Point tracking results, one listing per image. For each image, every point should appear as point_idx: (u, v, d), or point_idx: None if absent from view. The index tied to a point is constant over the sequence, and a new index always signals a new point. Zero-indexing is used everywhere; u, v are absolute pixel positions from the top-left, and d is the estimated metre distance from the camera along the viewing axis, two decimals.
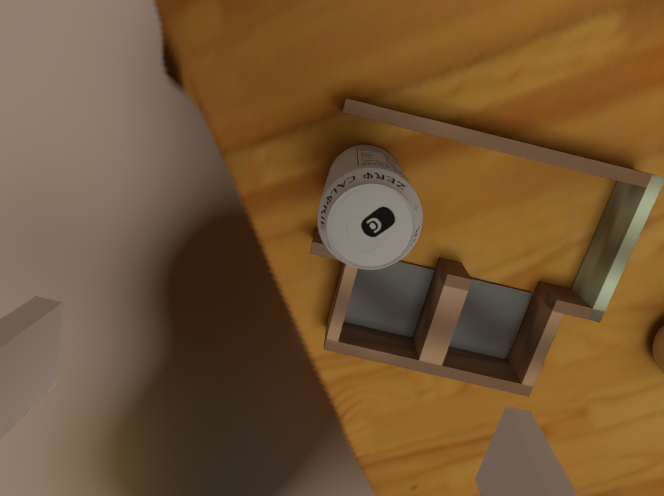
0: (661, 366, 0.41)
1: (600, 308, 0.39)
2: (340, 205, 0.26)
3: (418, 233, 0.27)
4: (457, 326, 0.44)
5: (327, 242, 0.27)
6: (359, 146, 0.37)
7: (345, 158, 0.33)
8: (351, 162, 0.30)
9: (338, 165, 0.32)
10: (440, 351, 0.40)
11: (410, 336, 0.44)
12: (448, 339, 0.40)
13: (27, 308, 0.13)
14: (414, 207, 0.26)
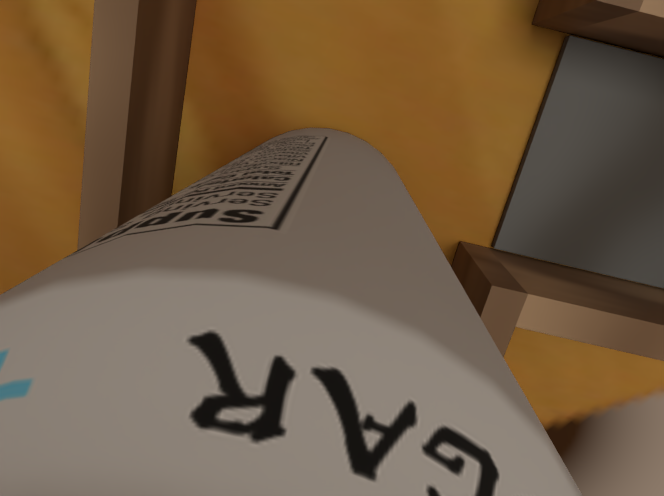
0: None
1: None
2: None
3: (285, 326, 0.03)
4: None
5: None
6: None
7: None
8: None
9: None
10: None
11: None
12: None
13: None
14: None
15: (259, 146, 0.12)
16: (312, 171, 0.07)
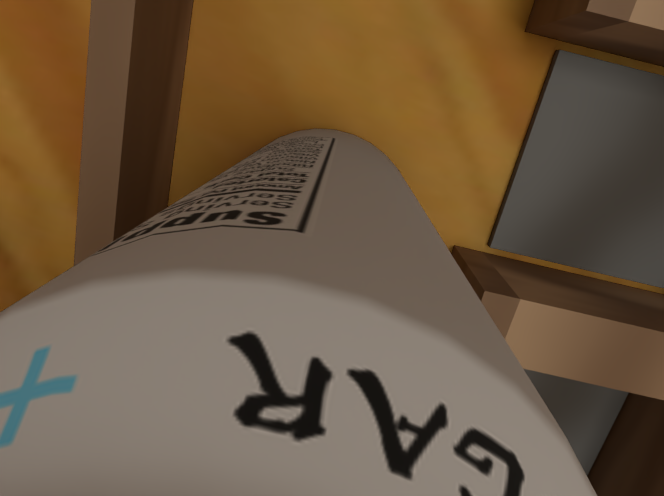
0: None
1: None
2: None
3: (320, 329, 0.03)
4: (635, 247, 0.16)
5: None
6: None
7: None
8: None
9: None
10: None
11: None
12: None
13: None
14: None
15: (267, 146, 0.12)
16: (326, 173, 0.07)
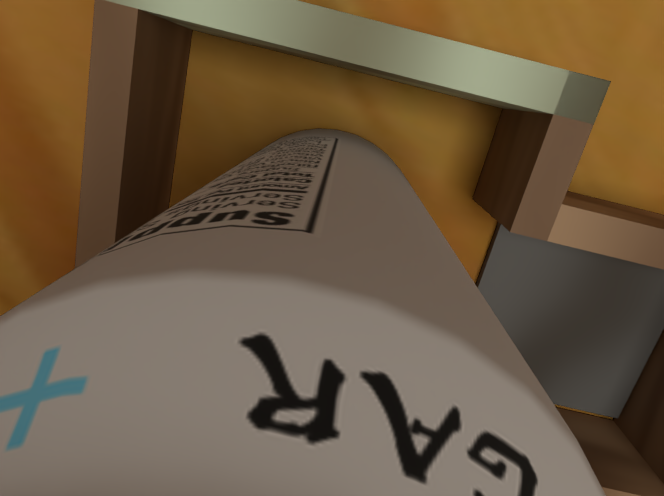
0: None
1: (556, 87, 0.11)
2: None
3: (332, 330, 0.03)
4: (576, 380, 0.18)
5: None
6: None
7: None
8: None
9: None
10: None
11: None
12: None
13: None
14: (9, 423, 0.02)
15: (269, 146, 0.12)
16: (331, 174, 0.07)
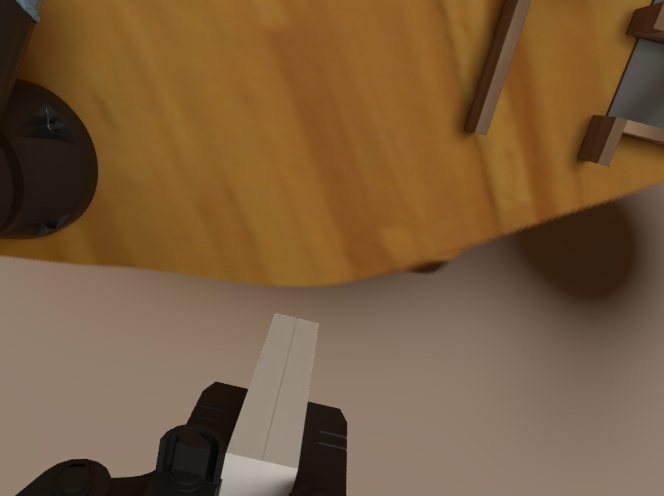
0: None
1: None
2: None
3: None
4: None
5: None
6: None
7: None
8: None
9: None
10: None
11: None
12: None
13: (278, 324, 0.15)
14: None
15: None
16: None
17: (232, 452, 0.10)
